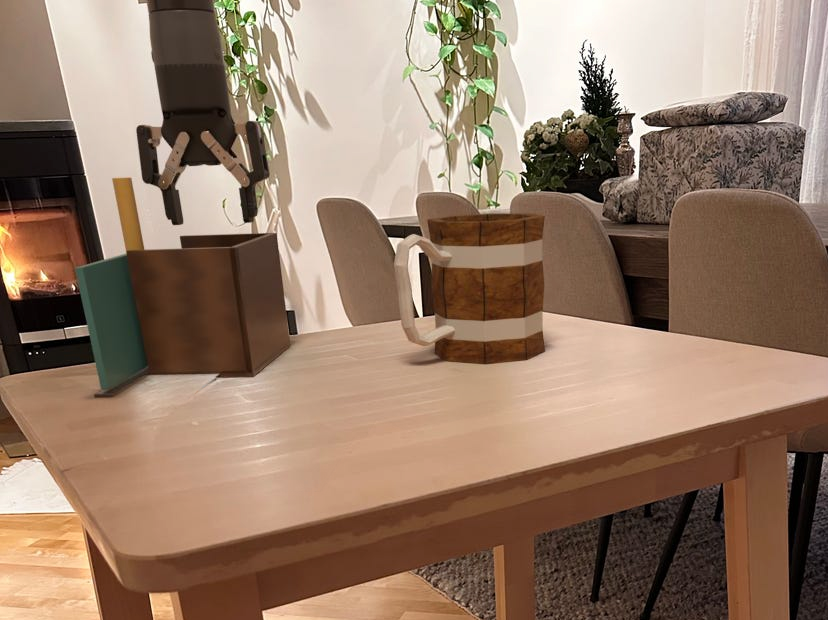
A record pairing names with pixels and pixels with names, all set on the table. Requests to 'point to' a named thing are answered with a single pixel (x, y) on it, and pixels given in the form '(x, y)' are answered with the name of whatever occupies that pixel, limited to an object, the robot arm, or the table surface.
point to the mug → (479, 287)
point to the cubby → (209, 306)
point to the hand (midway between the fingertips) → (213, 223)
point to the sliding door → (115, 300)
